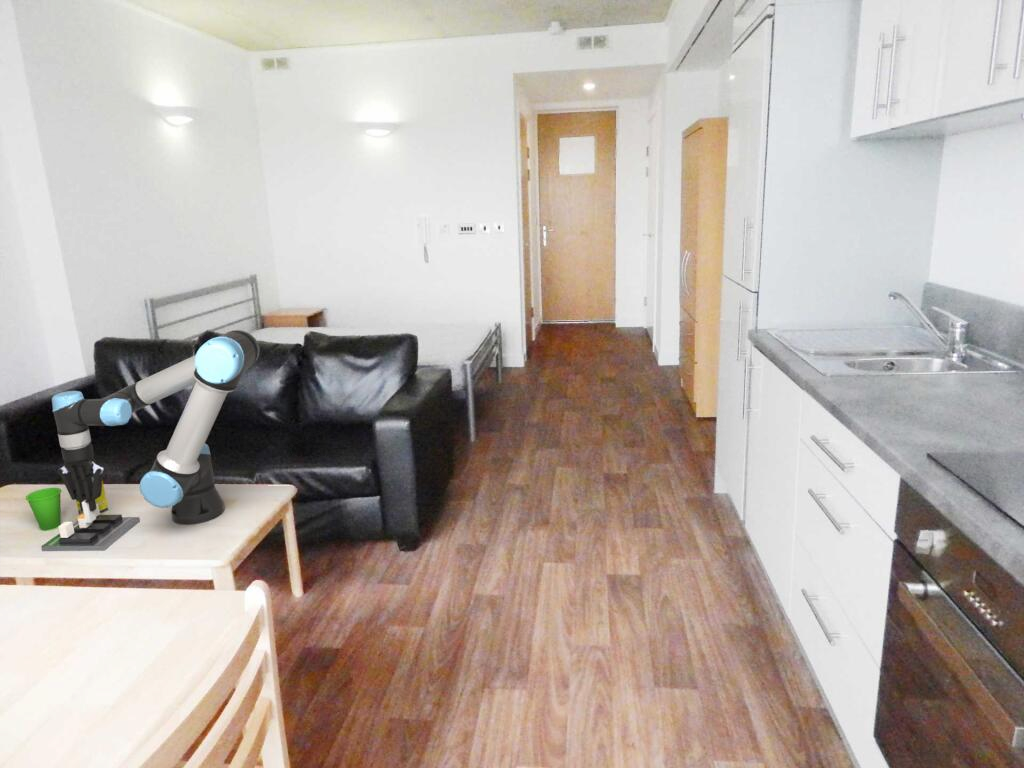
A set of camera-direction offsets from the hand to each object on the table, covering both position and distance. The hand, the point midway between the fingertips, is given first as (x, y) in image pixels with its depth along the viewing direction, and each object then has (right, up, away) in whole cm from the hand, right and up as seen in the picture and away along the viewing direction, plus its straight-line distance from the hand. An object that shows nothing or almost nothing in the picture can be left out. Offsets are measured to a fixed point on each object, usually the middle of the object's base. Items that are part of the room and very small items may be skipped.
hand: (91, 520), depth 199 cm
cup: (-17, -4, +8) cm, 19 cm away
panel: (0, -5, +1) cm, 5 cm away
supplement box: (-10, -1, +17) cm, 20 cm away
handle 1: (-3, -3, -5) cm, 7 cm away
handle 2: (-3, 0, +6) cm, 7 cm away
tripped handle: (-2, -1, 0) cm, 2 cm away
